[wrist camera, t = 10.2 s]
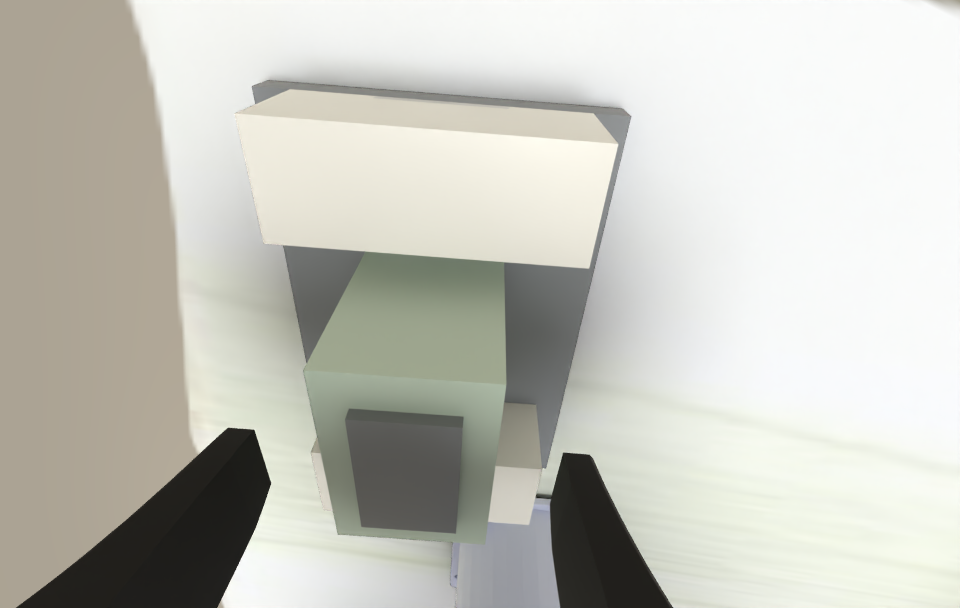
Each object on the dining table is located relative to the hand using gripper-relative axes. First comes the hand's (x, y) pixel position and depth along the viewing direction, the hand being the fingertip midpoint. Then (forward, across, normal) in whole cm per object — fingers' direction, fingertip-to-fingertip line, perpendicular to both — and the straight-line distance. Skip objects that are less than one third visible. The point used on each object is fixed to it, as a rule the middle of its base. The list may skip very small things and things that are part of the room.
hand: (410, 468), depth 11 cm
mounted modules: (+6, 0, 0) cm, 6 cm away
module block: (+6, 0, 0) cm, 6 cm away
